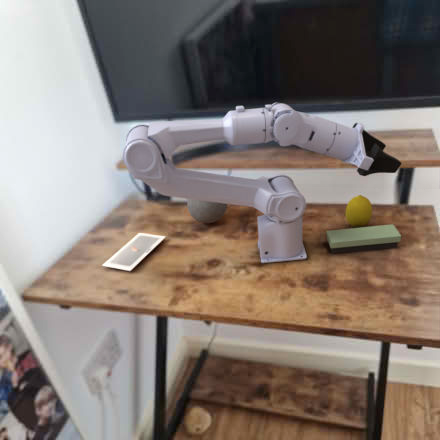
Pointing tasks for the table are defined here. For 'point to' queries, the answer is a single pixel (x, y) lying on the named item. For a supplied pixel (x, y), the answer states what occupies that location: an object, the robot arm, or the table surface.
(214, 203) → the decorative ball
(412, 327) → the table surface
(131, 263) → the touchpad
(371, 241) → the green block
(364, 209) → the lemon
